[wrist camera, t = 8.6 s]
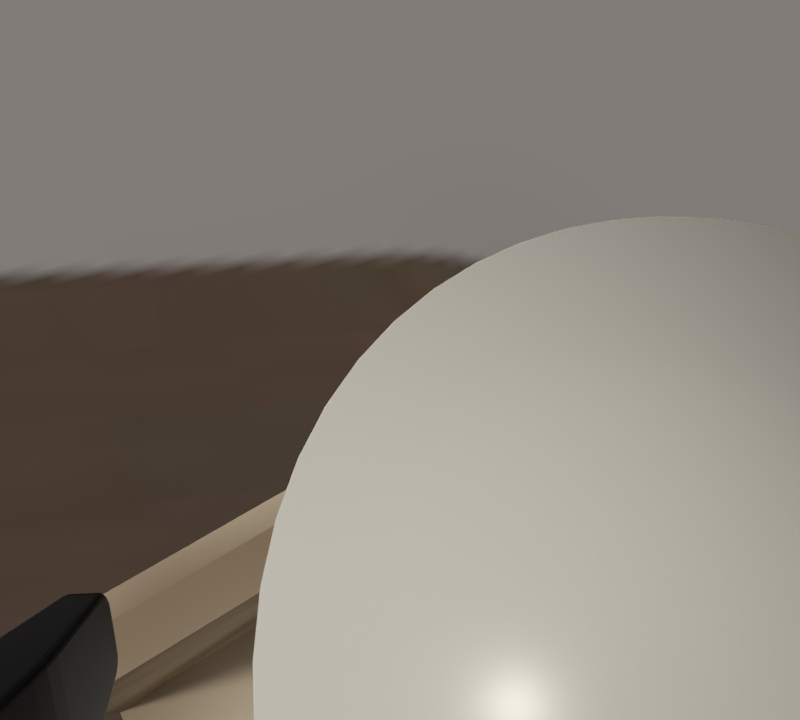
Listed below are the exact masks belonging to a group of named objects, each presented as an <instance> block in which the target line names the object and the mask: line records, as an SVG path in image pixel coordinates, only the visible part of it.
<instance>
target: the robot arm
mask: <svg viewBox="0 0 800 720" xmlns="http://www.w3.org/2000/svg"><path fill="white" fill-rule="evenodd" d="M117 667H118V653H117V646H116V640H115V634H114V628H113V622H112V616H111V610H110V605H109V602H108V599H107V597H106V596H105V595H103V594H102V593H86V594H69V595H66V596H64V597H62V598H60V599H59V600H57V601H56V602H54V603H53V604H51V605H50V606H48V607H47V608H45V609H44V610H42V611H41V612H39V613H38V614H36V615H34V616H33V617H31V618H30V619H28V620H27V621H25V622H24V623H22V624H21V625H19V626H18V627H16V628H15V629H13V630H12V631H10V632H8V633H7V634H5V635H4V636H2V637H1V638H0V720H104V719H105V715H106V711H107V708H108V704H109V700H110V697H111V693H112V689H113V686H114V682H115V678H116V674H117Z"/></svg>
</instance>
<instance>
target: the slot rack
mask: <svg viewBox="0 0 800 720" xmlns="http://www.w3.org/2000/svg"><path fill="white" fill-rule="evenodd" d="M285 492H286V490H285V491H283V492H282V493H280V494H278V495H276V496H275V497H273V498H271V499H269V500H268V501H266V502H264V503H262V504H261V505H259V506H257V507H255V508H254V509H252V510H250V511H248V512H247V513H245V514H243V515H241V516H240V517H238V518H236V519H234V520H233V521H231V522H229V523H227V524H226V525H224V526H222V527H220V528H219V529H217V530H215V531H213V532H212V533H210V534H208V535H206V536H205V537H203V538H201V539H199V540H198V541H196V542H194V543H192V544H191V545H189V546H187V547H185V548H184V549H182V550H180V551H178V552H177V553H175V554H173V555H171V556H170V557H168V558H166V559H164V560H163V561H161V562H159V563H157V564H156V565H154V566H152V567H150V568H148V569H147V570H145V571H143V572H141V573H140V574H138V575H136V576H134V577H133V578H131V579H129V580H127V581H126V582H124V583H122V584H120V585H119V586H117V587H115V588H113V589H112V590H110V591H108V592H106V593H105V594H103V595H105V596H106V597H107V599H108V602H109V605H110V610H111V616H112V622H113V628H114V634H115V640H116V646H117V653H118V667H117V674H116V678H115V682H114V686H113V689H112V693H111V697H110V700H109V704H108V708H107V711H106V712H120V713H121V715H122V718H123V720H254V704H253V653H254V643H255V633H256V624H257V614H258V604H259V594H260V585H261V581H262V577H263V572H264V568H265V563H266V559H267V555H268V550H269V546H270V542H271V537H272V533H273V528H274V524H275V520H276V517H277V514H278V511H279V508H280V506H281V503H282V500H283V498H284V495H285Z"/></svg>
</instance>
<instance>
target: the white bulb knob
mask: <svg viewBox="0 0 800 720" xmlns="http://www.w3.org/2000/svg"><path fill="white" fill-rule="evenodd" d="M253 704H254V720H800V233H797V232H793V231H789V230H785V229H780V228H776V227H772V226H767V225H763V224H756V223H748V222H741V221H733V220H726V219H719V218H708V217H679V216H654V217H641V218H627V219H613V220H608V221H603V222H597V223H592V224H587V225H581V226H576V227H571V228H565V229H562V230H559V231H556V232H553V233H549V234H546V235H543V236H540V237H537V238H534V239H530V240H527V241H524V242H521V243H518V244H516V245H514V246H512V247H509V248H507V249H505V250H503V251H501V252H498V253H496V254H494V255H492V256H490V257H487V258H485V259H483V260H481V261H479V262H476V263H474V264H473V265H471V266H470V267H468V268H466V269H465V270H463V271H462V272H460V273H458V274H457V275H455V276H454V277H452V278H450V279H449V280H447V281H445V282H444V283H442V284H441V285H439V286H437V287H436V288H434V289H433V290H432V291H430V292H429V293H428V294H427V295H425V296H424V297H423V298H422V299H421V300H419V301H418V302H417V303H416V304H414V305H413V306H412V307H411V308H410V309H408V310H407V311H406V312H405V313H404V314H402V315H401V316H400V317H399V318H397V319H396V320H395V321H394V322H393V323H392V324H391V325H390V326H389V327H388V328H387V329H386V330H385V332H384V333H383V334H382V335H381V336H380V337H379V338H378V339H377V340H376V341H375V342H374V343H373V344H372V345H371V347H370V348H369V349H368V350H367V351H366V352H365V353H364V354H363V355H362V356H361V357H360V358H359V359H358V361H357V362H356V363H355V365H354V366H353V368H352V369H351V370H350V372H349V373H348V375H347V376H346V378H345V379H344V380H343V382H342V383H341V385H340V386H339V387H338V389H337V390H336V392H335V393H334V395H333V396H332V397H331V399H330V400H329V402H328V403H327V404H326V406H325V408H324V410H323V412H322V413H321V415H320V417H319V419H318V421H317V423H316V425H315V427H314V429H313V431H312V433H311V434H310V436H309V438H308V440H307V442H306V444H305V446H304V448H303V450H302V452H301V453H300V455H299V457H298V460H297V462H296V465H295V468H294V470H293V473H292V476H291V479H290V481H289V484H288V487H287V489H286V492H285V495H284V498H283V500H282V503H281V506H280V508H279V511H278V514H277V517H276V520H275V524H274V528H273V533H272V537H271V542H270V546H269V550H268V555H267V559H266V563H265V568H264V572H263V577H262V581H261V585H260V594H259V604H258V614H257V624H256V633H255V643H254V653H253Z"/></svg>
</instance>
